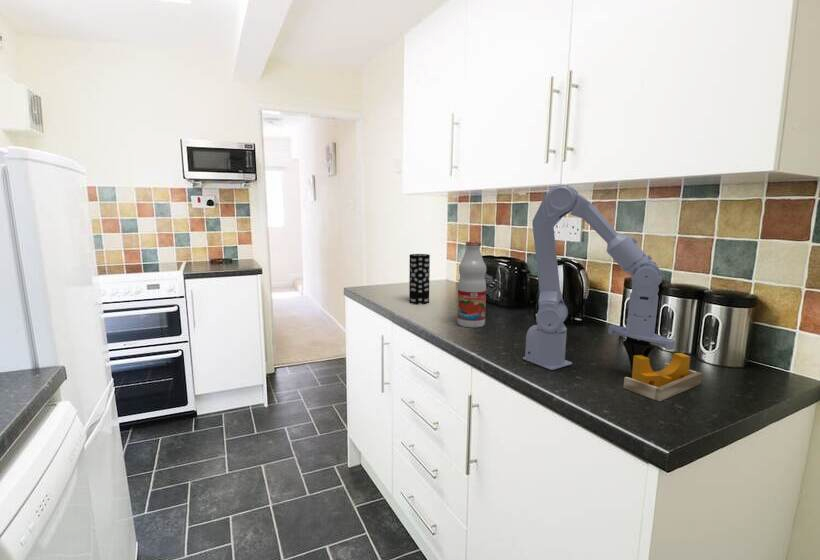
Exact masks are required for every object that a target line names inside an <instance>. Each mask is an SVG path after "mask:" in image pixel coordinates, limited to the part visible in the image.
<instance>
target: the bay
mask: <svg viewBox="0 0 820 560" xmlns="http://www.w3.org/2000/svg"><path fill="white" fill-rule="evenodd" d="M669 364H670V362H665V363H664V364H663V369H665V368H666V367H667V366H668V365H669ZM702 377H703V372H699V371H696V370H692V369H689V374H688V376H686V377H683V378H681V379H678V380H676V381H673V382H671V383H668V384H666V385H663V386H661V387H655V386H652V385H649V384H647V383H644V382H641V381H638V380H635V379H632V377H628V376H625V377H624V379H623V380H624V381H623V389H625V390H627V391H630V392H633V393H636V394H638V395H641V396H644V397H647V398H649V399H652V400H654V401H657V402H662V401H664V400H666V399H669V398H671V397H674V396H676V395H678V394H680V393H683V392H686V391H689V390H691V389H693V388H694V387H697V386H699V385H701V384H702V379H703V378H702Z"/></svg>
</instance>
